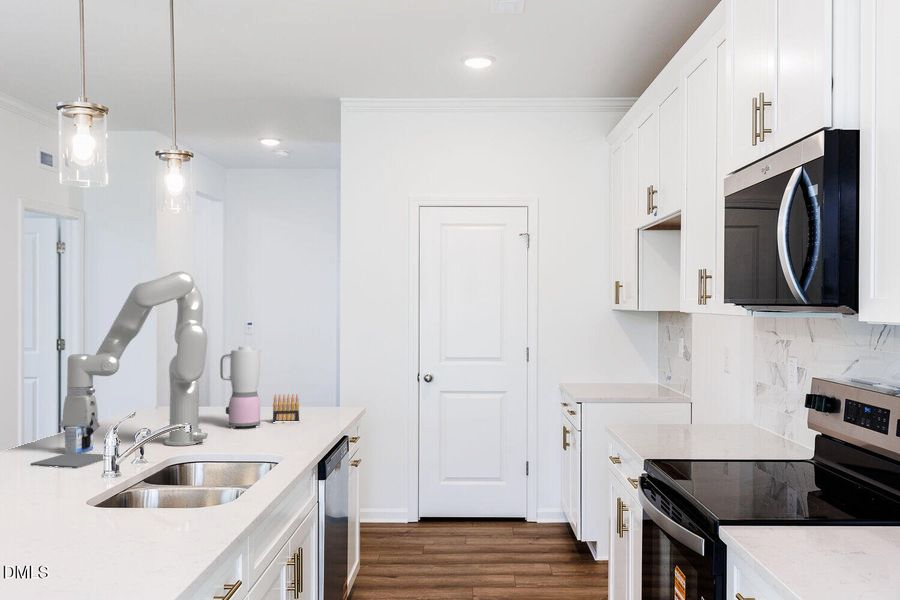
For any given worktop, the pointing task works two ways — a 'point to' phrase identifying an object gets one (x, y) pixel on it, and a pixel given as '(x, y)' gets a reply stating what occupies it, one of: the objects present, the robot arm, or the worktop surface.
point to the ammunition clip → (286, 409)
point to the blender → (243, 386)
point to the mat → (70, 460)
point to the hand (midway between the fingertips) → (79, 446)
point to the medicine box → (75, 440)
